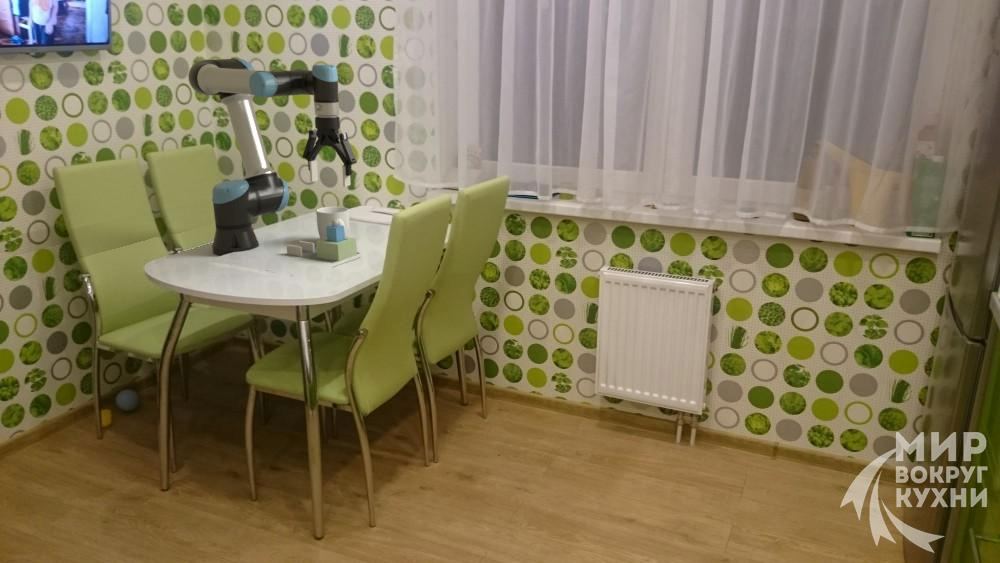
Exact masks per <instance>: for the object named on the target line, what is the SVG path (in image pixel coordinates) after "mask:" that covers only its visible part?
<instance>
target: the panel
mask: <svg viewBox="0 0 1000 563" xmlns="http://www.w3.org/2000/svg"><path fill="white" fill-rule="evenodd" d="M360 254H361V252H358V251H357V255H360ZM285 255H286V256H292V257H298V258H303V259H307V260H313V261H319V262H324V263H328V264H329V263H330V264H334V263H338V261H334V260H329V259H323V258H318V257H317V244H315V242H308V241H303V240H299V241H298V246H297V245H293V244H286V254H285ZM360 258H361V256H359V257H357V258H354V259H351V260H348V261H345V262H343V263H339V264H336V265H334V266H333V268H335V267H338V266H341V265H343V264H347V263H348V262H351V261H354V260H358V259H360Z"/></svg>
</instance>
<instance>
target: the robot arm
mask: <svg viewBox="0 0 1000 563" xmlns="http://www.w3.org/2000/svg"><path fill="white" fill-rule="evenodd" d="M338 76H339V75H338V68H337V66H336V65H334V64H321V63H320V64H313V65H312V68H311V70H309V69H308V70H307V69H301V68H299V69H297V68H294V69H291V70H290V69H289V70H274V71H273V70H272V71H271V70H256V69H255V68H254V67H253V65H252V64H251V62H248V61H247V60H245V59H242V58H233V57H232V58H222V59H202V60H199V61H197V62H195V63H193V65H192V66H191V67H190V69H189V72H188V76H187V78H188V83H189V85H190V86H191V89H193V90H194V91H195V92H196V93H198V94H201V95H205V96H218V97H219V101H220V103H221V104H222V105H225V107H226V108H227V112H228V115H229V120H230V123H231V126H232V129H233V133H234V136H235V140H236V143H237V144H236V145H237V148H238V151H239V155H240V157H241V161H242V164H243V165H242V166H243V169H244V172H245V175H244V177H243V179H231V180H226V181H222V182H219V183H218V184H216V185H214V187H213V188H212V191H211V192H212V198H211V200H212V202H213V213H214V215H213V216H214V223H215V234H214V238H213V244H212V245H211V246H212V253H213V254H215V255H217V256H225V255H229V254H232V253H240V252H246V251H250V250H254V249H256V248H258V247H259V245H260V243H259V240H258V238H257V236H256V234H255V231H254V228H253V224H252V218H254V217H259V216H262V215H263V216H265V215H269V214H274V213H275V214H276V213H278V212H281V211H283V210H284V209H286V207H287V205H288V202H289V200H290V189H289V185H288V183H287V181H285V179H283V178H282V177H278V172H277V171H276V170H275V169H273V168H271V165H270V161H269V160H270V159H269V157H268V153H267V150H266V147H265V143H264V142H265V141H264V140H263V136H262V132H261V128H260V126H259V123H258V118H257V114H256V112H255V108H254V104H253V100H254V97H256V98H266V99H267V98H272V97H273V98H274V97H283V96H285V97H287V96H299V95H300V96H301V95H306V96H307V95H308V96H313V106H314V115H315V117H314V125H315V129H310V130H309V131H308V138H307V142H306V144H305V147H304V150H303V154H302V159H305V160H307V168H308V171H309V177H310V180H309V181H310V182H311V183H313V182H317V181H319V175H318V174H319V173H318V172H319V171H318V160H317V157H318V155H319V153H320V152H321V151H322V149H323V147H330V148H332V149H334V151H335V153H336V154H337V155H338V157H339V158H340V160H341V162H342V163H343V165H341V167H342V169H341V170H342V187H349V186H351V184H352V183H351V176H352V175H353V174H352V173H353V171H352V165H355V164H357V158H356V156H355V154H354V151H353V148H352V146H351V143H350V141H349V136H348V133H347V132H342V133H341V132H339V129H340V128H341V124H340V123H341V122H340V117H339V115H340V102H339V77H338Z"/></svg>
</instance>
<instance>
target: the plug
mask: <svg viewBox="0 0 1000 563" xmlns="http://www.w3.org/2000/svg"><path fill="white" fill-rule="evenodd" d="M326 229H327V241H331V242H337V243H338V242H341V241H344V240H345V232H344V226H342V225H338V220H332V225H331V226H328V227H326Z"/></svg>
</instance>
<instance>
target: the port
mask: <svg viewBox="0 0 1000 563" xmlns="http://www.w3.org/2000/svg"><path fill="white" fill-rule="evenodd" d="M316 245H317V257H318V258H323V259H329V260H334V261H337V262H342V261H344V260H346V259H349V258H352V257H355V256H357V255H358V254H357V252H358V250H357V249H358V247H357V238H354V237H349V236H348V237H345V240H344V241H341V242H338V243H337V242H331V241H327V238H325V239H319V240H316Z"/></svg>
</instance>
